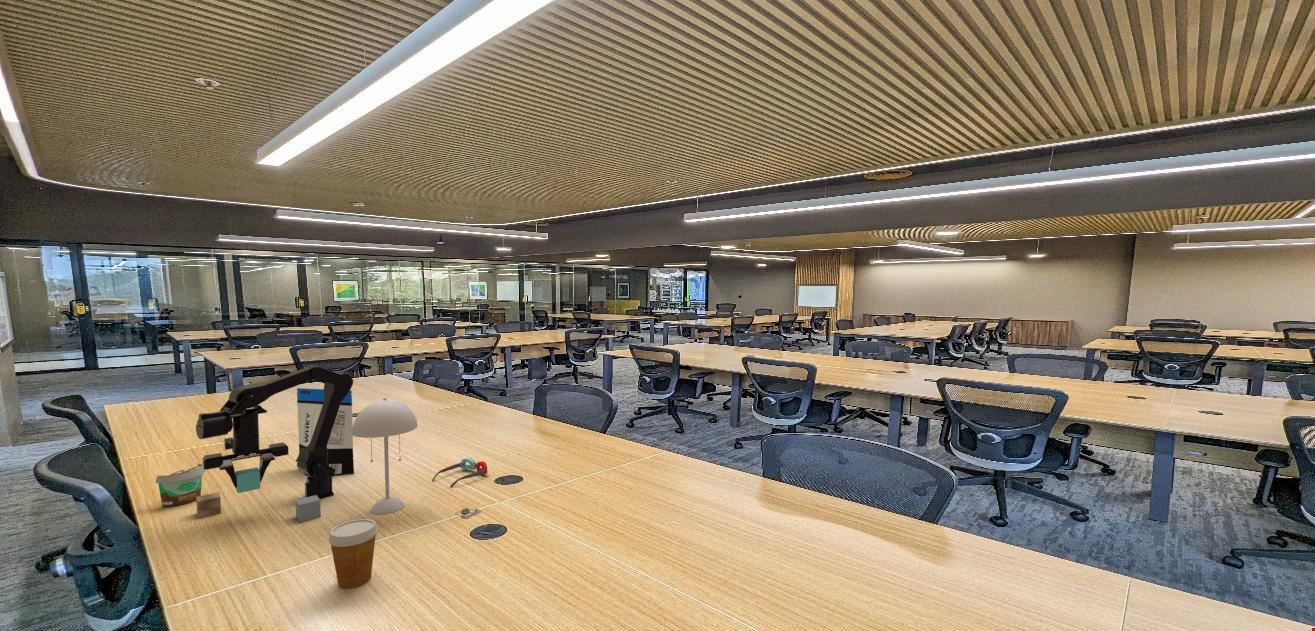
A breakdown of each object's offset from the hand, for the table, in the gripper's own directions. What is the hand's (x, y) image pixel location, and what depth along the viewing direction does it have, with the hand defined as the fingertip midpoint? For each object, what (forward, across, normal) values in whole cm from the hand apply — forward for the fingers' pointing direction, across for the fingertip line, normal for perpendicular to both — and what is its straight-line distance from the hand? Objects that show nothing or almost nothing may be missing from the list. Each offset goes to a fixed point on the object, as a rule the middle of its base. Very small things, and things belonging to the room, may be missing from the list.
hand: (247, 484), depth 145 cm
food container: (+10, +12, -28) cm, 32 cm away
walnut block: (+10, +8, -12) cm, 17 cm away
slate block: (+10, -12, +12) cm, 20 cm away
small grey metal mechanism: (+10, -48, +45) cm, 67 cm away
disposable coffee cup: (+10, -12, +59) cm, 61 cm away
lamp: (+10, -30, +22) cm, 38 cm away
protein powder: (+10, -25, -29) cm, 40 cm away
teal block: (+1, 0, 0) cm, 1 cm away
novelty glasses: (+10, -56, +13) cm, 58 cm away
